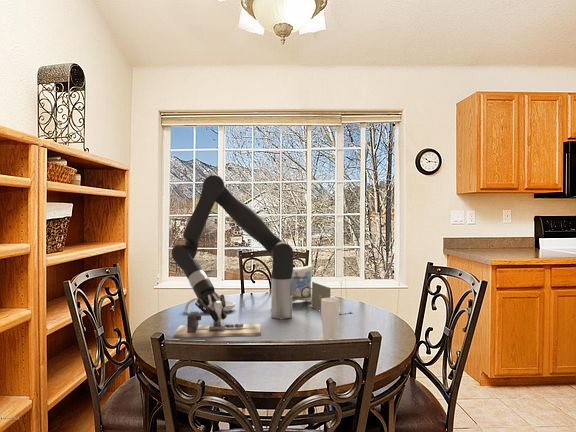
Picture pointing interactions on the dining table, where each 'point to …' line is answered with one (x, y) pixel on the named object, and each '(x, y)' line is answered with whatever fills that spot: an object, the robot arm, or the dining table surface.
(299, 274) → the pouch
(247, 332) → the tensioner rail
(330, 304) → the drinking glass
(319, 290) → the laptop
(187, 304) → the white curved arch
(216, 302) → the chain handle
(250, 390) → the dining table surface
